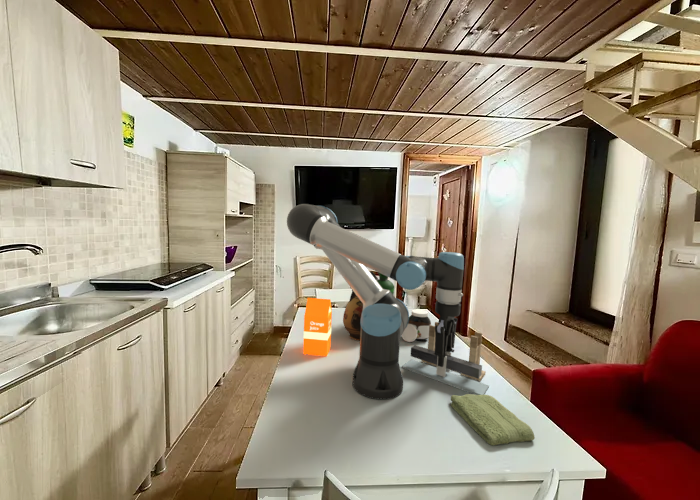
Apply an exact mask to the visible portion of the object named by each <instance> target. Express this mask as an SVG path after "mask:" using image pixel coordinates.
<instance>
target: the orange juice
mask: <svg viewBox="0 0 700 500" xmlns="http://www.w3.org/2000/svg"><path fill="white" fill-rule="evenodd" d="M305 306H306V307H305V312H304V315H303V347H302V348H303V350H302V351H303V352H302V354H303V355H306V354H308V355H310V356H319V357H328V354H329V352H330V350H331V345H332V344H331V343H332V341H331V340H332V319H333V317H332V316H333V314H332V313H333V310H332V301H331V298H330V299H329V298H317V297H315V298H314V297H307V300H306V305H305Z"/></svg>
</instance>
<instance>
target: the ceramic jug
mask: <svg viewBox="0 0 700 500" xmlns="http://www.w3.org/2000/svg"><path fill="white" fill-rule="evenodd" d="M369 272H370V273H371V274H372V275H373V277H374V278H375V279H376V281H377V280H378V279H379V277H378V276H377V275H376V274H375V273H374V272H373V270H372V271H369ZM362 311H363V303H362V302H361V301H360V299H359V298H358V297H357V295H356V294H355V293H354V291H353V290H352V289H351V294H350V297H349V301H348V303H347V304H346V307H345V308H344V311H343V317H342V323H343V327H344V329H345V331H347V333H348V338H349V339H351V340H353V341H355V342H357V341H358V342H360V331H361V323H360V321H361V315H362Z"/></svg>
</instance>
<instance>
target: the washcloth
mask: <svg viewBox="0 0 700 500" xmlns="http://www.w3.org/2000/svg"><path fill="white" fill-rule="evenodd" d="M450 401H451V403H450V406H451V408H452V409H453V410H454V411H455V412H456V413H457V414H458V415H459V416H460V417H461V418H462V419H463V421H464V422H466V423H467V424H468V425H469V426H470V427H471V428H472V429H473V430H474V431H475V432H476V433H477V434H478V435H479V436H480V437H481V438H482V439H483V440H484V441H485V442H486V443H487V444H488V445H490V446H498V445H505V444H507V445H509V443H514V442H519V443H523V442H531V441H534V440H535V438H536V437H535V434H534V431H533V428H531V426H530V425H529V424H528V423H526V422H524V421H523V420H522V419H520V418H519V417H518V416H517V415H516V414H515V413H513V412H512V411H511V410H510V409H508V408H506V407H505V406H504V405H503V404H502V403H501V401H499V400H497V399H496V398H495V397H494V396H493V395H492V396H491V395H489V394H484V395H475V394H472V393H470V394H469V393H466V394H463V395H455V394H452V395H451V396H450Z"/></svg>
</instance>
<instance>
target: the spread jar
mask: <svg viewBox="0 0 700 500" xmlns="http://www.w3.org/2000/svg"><path fill="white" fill-rule="evenodd" d="M429 325H432V321H431V319H430V317H429V312H428V311H427V310H424V309H417V308H416V309H412V310H411V314H410V315H409V322H408V325H407V327H406V328H405V330H404V332H403V333H402V335H401V338H402V339H403V340H404V341H405V342H408V343H411V342H414V341H417V342H424V341H426V340H428V339H429Z"/></svg>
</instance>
